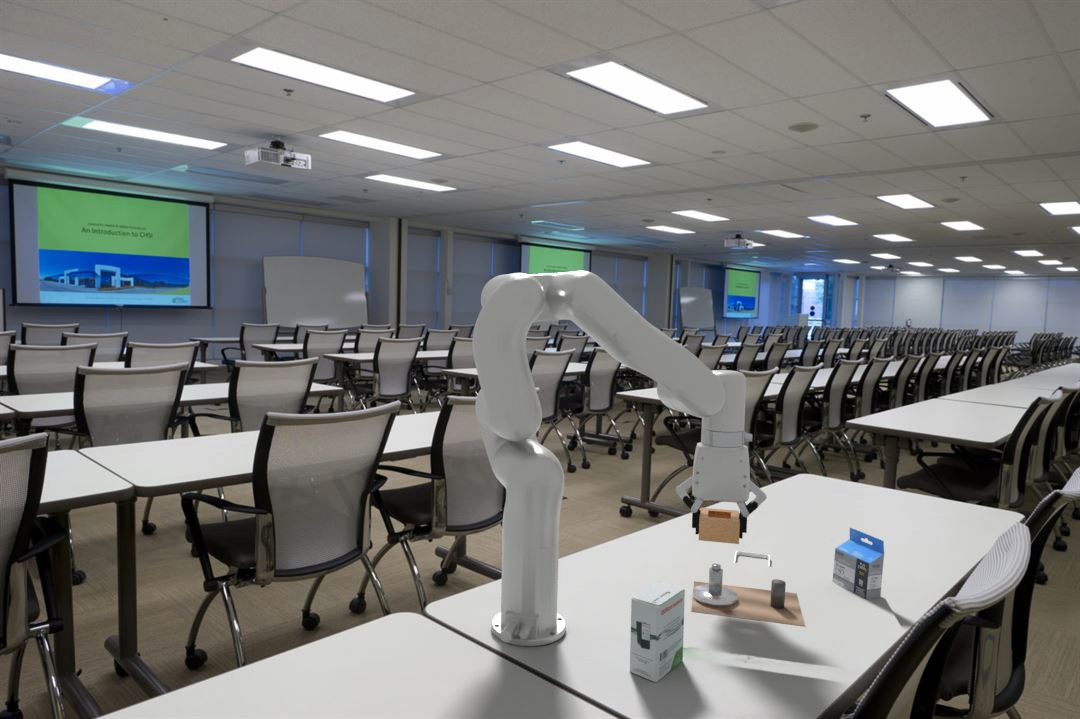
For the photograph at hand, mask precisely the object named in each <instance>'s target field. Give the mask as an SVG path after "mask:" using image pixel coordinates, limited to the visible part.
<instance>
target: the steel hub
mask: <svg viewBox="0 0 1080 719" xmlns="http://www.w3.org/2000/svg"><path fill="white" fill-rule="evenodd" d="M708 572H709V574H708V583H709V584H705V585H699V586H696V587H695V588H694V589H692V598H694V600H695V601H697V602H698V603H700V604H703V605H706V606H710V607H716V608H726V607H731V606H734V605H735V604H736V603H737V593H736V592H735V591H733V590H732V589H730V588H727V587H724V586H722V585H723V574H724V570H723V568H722V565H721V564H720V563H719V564H718V563H712V564H711V567H709V571H708Z"/></svg>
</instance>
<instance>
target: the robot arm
mask: <svg viewBox="0 0 1080 719" xmlns="http://www.w3.org/2000/svg"><path fill="white" fill-rule="evenodd" d="M480 295H481V296H480V304H481V305H480V306H481V310H480V311H479V313H478V316H477V319H476V322H475V325H474V329H473V331H472V340H471V341H472V342H471V344H472V356H473V360H474V361H473V362H474V365H475V368H476V369H475V370H476V372H477V373H476V374H477V377H478V382H479V386H480V390H479V391H478V393H477V395H476V399H475V404H474V406H475V407H474V408H475V415H476V420H477V421H476V422H477V423H478V427H479V430H480V434H481V438H482V441H483V444H484V445H483V446H484V448H485V451H486V456H487V458H488V461H489V464H490V467H491V471H492V472H493V474H494V476H495V478H496V479H497V480H498V481H499V483H500V484H501V485H502V486H503V487H504V488H505V502H504V508H503V517H502V528H501V529H502V530H501V533H502V534H501V536H502V537H501V542H502V543H501V545H502V546H501V583H500V585H501V589H500V591H501V594H500V595H501V596H500V612H498V613H497V614H496V615H495V616H493V618H492V620H491V626H490V628H491V629H490V630H491V632H492V634H493V635H494V636H495V637H497V638H498V639H499V640H500V641H503V643H508V644H510V645H516V646H521V647H523V646H524V647H538V646H546V645H548V644H552V643H554V642H556V641H559V639H561V638H562V637H563V636H564V634H566V633H565V632H566V631H567V630H566V627H567V626H566V625H567V624H566V623H567V622H566V620H565V619H564V617H562V615H560V614H559V613H558V589H559V588H558V587H559V558H560V557H559V550H560V547H559V546H560V539H559V538H560V521H561V520H560V519H561V508H562V502H563V496H564V492H565V491H564V490H565V482H566V481H565V479H566V478H565V473H564V469H563V467H562V464H561V461H560V460H559V458H558V457H557V456H556V455H555V454H554V452H553V451H551V450H550V449H548V448H547V447H545V446H544V445H542V444H541V443H539V441H538V437H537V432H538V431H539V430H540V427H541V425H542V421H543V410H542V406H541V402H540V398H539V395H538V392H537V389H536V386H535V382H534V379H533V375H532V371H531V368H530V363H529V359H528V354H527V353H528V352H527V347H526V346H527V345H526V342H527V337H528V334H529V331H530V329H531V327H532V325H533V324H534V323H540V322H551V321H553V322H554V321H565V320H566V321H571V322H572V323H574V324H575V325H576V326H577V327H578V328H579V329H581V331H583V332H584V333H585V334H587V335H588V336H589V337H590V338H591V339H592V340H593V341H594V342H596V343H597V344H598V345H599V347H601V348H602V349H603V350H604V351H605V352H606V353H607V354H609V355H610V357H612V358H613V359H614V360H615V361H617V362H619V363H621V364H622V365H623V366H625V367H627V368H629V369H631V370H633V371H636V372H638V373H640V374H643V375H644V376H646V377H648V378H650V379H652V381H655V382H656V384H657V385H656V393H657V394H656V395H657V396H658V398H659V400H660V401H661V403H662V404H663V405H664V406H666V408H670V409H672V410H675V411H677V412H680V413H683V414H688V415H690V416H692V417H693V416H694V417H696V418H701V432H700V433H701V434H700V436H701V437H700V442H697V443H696V446H695V452H694V457H693V465H692V466H693V467H692V475H691V476H690V477H688V478H687V479H685V480H684V481H683V482H681V483H680V484H679V485H677V486H676V487H675V493H676V494H677V495H678V496H679V498H680V499H681V500H682V501H683V503H684V504H685V505H686V506H687V508H688V509H689V510H690V511H691V514H692V515H691V528H693V529H695V535H699V517H700V511H701V510H700V507H701V505H702V504H703V502H704V501H712V502H713V501H714V502H723V503H735V504H737V507H738V508H739V519H740V531H739V539H741V540H742V539H743V536H744V534H747V528H748V526H747V525H748V517H749V516H750V515H751V514H752V513H753V512H754V511H756V510H757V509H758V508H759V506H760V505H762V504H763V503H764V502H765V501H766V500H767V494H766V493H765V492H764V491H763V490H762V489H761V488H760V487H758V486H757V484H755V483H754V482H753V481H752V480H751V479H750V478H751V475H750V473H751V471H750V468H751V467H750V454H749V448H748V446H747V445H745V444H746V442H753V434H752V433H749V432H746V431H745V425H746V424H745V422H746V417H745V416H746V398H747V397H746V396H747V394H746V393H747V379H746V376H745V374H744V373H743V372H741V371H738V370H732V369H731V370H730V369H729V370H728V369H714V370H713V369H712V370H711V369H710V368H709V367H708V366H707V365H706V364H705V363H704V362H702V361H701V359H699V358H698V356H696V355H695V354H694V353H692V352H691V351H690V350H688V349H687V348H686V347H684V346H683V345H682V344H680V343H679V342H677V341H676V340H675V339H673V338H671V337H670V336H669V335H668V334H666V333H665V332H664V331H662V330H660V329H659V328H658V327H656V326H654V325H653V324H652V323H651V322H649V321H647V319H646V318H644V317H643V316H642V315H641V314H640V313H639V312H638V311H637V310H635V308H633V307H632V305H630V304H629V303H628V302H627V300H625V298H623V297H621V296H620V294H619V293H617V292H616V291H615V290H614V288H612V287H611V286H610V285H609V284H608V283H607V282H606V281H605V280H603V279H602V278H601V277H600V276H598V274H595V273H593V272H591V271H588V270H574V271H565V272H557V273H556V272H554V273H553V272H552V273H538V274H535V273H533V274H528V273H523V272H513V273H508V274H499V275H497V276H494V277H493V278H491V279H490V280H488V281H487V282H486V283H485V285H484V286H483V289H482V291H481V293H480ZM689 488H691V493H692V496H693V497H694V500H693V498H692V497H691V496H690V495H689V494H688V493H687V490H688V489H689ZM750 492H751V493H752V494H753V495H755V497H754V498H753V499H752V500H751V501H750V502H748V503H746V502H747V501H749V497H750Z"/></svg>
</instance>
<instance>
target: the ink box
mask: <svg viewBox="0 0 1080 719" xmlns="http://www.w3.org/2000/svg"><path fill="white" fill-rule="evenodd" d="M685 591H686V590H685V588H683V587H681V586H677V585H673V584H669V583H666V582H665V583H664V582H661V581H657V582H656V583H654V584H653V585H651V586H650V587H648V588H646V589H645V590H643V591H641V592H640V593H638V594H636V595H634V596H633V597H632V598H631V601H630V602H631V604H630V605H631V606H630V607H631V612H630V613H631V614H630V646H629V647H630V650H629V672H630V673H633V674H635V675H637V676H639V677H642V678H643V679H647V680H649V681H651V682H654V683H658V682H659V681H660V680H661V679H662V678H664V677H665V676H666V675H667V674H668V673H669V672H671V671H672V670H673V669H674V668H676V667H677V666H678V665H679V664H681V662H682V661H683V660H684V659H683V658H684V629H685V627H684V626H685V625H684V623H685V595H686V594H685V593H686V592H685Z"/></svg>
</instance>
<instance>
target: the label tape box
mask: <svg viewBox="0 0 1080 719" xmlns="http://www.w3.org/2000/svg"><path fill="white" fill-rule="evenodd" d="M862 539H863V540H865V539H867V541H869V542H870V543H872V544H870V543H869V542H866V541H863V540H862ZM884 559H885V544H884V540H882V539H880V538H878V537H875V536H872V535H870V534H868V533H865V532H863V531H860V530H858V529H855V528H852V527H849V539H848V540H846V541H845V542H843V543H842V544H839V545H838V546H837V547H835V548H834V559H833V570H832V583H834V584H836V585H837V586H839V587H841V588H843V589H845V590H847V591H849V592H851V593H852V594H854V595H857V596H859V597H861V598H863V599H865V600H869V599H870V600H871V599H876V598H881V597H882V596H881V595H882V594H881V593H882V582H883V572H884V562H885V560H884Z"/></svg>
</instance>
